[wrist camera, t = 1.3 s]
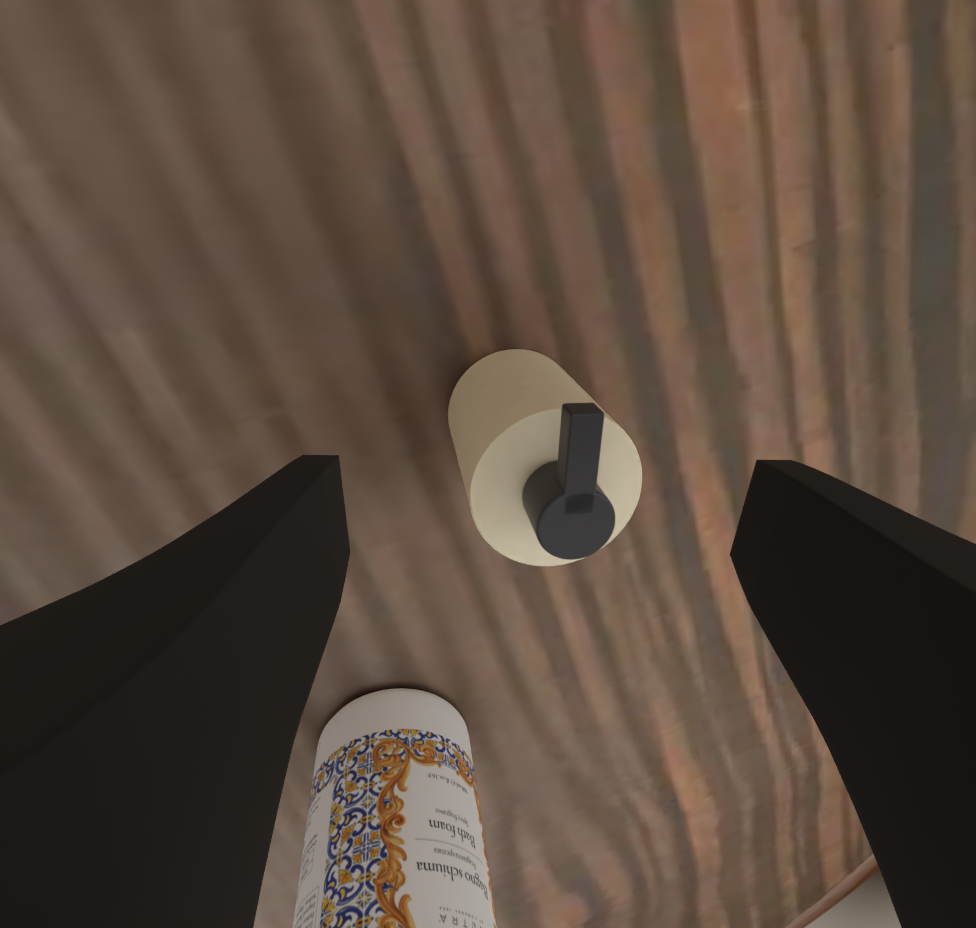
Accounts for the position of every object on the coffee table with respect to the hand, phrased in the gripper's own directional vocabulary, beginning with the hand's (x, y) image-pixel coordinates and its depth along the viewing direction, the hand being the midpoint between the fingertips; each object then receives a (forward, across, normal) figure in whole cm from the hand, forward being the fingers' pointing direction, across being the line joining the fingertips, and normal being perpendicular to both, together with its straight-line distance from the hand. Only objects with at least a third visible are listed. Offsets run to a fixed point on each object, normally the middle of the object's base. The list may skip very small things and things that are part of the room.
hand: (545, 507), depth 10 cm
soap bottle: (+11, 0, +3) cm, 12 cm away
